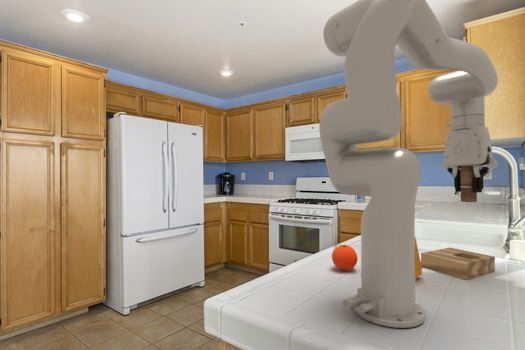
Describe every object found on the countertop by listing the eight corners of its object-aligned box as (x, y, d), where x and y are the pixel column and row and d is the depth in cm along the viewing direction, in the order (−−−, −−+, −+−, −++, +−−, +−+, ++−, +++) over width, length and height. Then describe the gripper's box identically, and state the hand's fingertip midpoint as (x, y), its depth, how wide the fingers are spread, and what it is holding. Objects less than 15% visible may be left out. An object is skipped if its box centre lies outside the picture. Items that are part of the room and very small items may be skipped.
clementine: (324, 267, 85) (324, 242, 85) (341, 264, 88) (341, 240, 89) (344, 275, 78) (344, 248, 78) (363, 271, 82) (362, 245, 82)
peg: (472, 202, 78) (471, 164, 77) (457, 201, 81) (456, 164, 81) (480, 201, 79) (479, 164, 79) (465, 200, 83) (464, 164, 83)
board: (465, 279, 74) (465, 263, 74) (420, 267, 85) (420, 253, 85) (494, 271, 81) (494, 256, 81) (449, 260, 91) (449, 247, 91)
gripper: (429, 127, 86) (430, 191, 86) (495, 117, 71) (496, 194, 71) (445, 129, 89) (446, 190, 89) (511, 119, 74) (512, 192, 74)
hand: (468, 191), depth 80 cm, fingers closed on peg, 3 cm apart
